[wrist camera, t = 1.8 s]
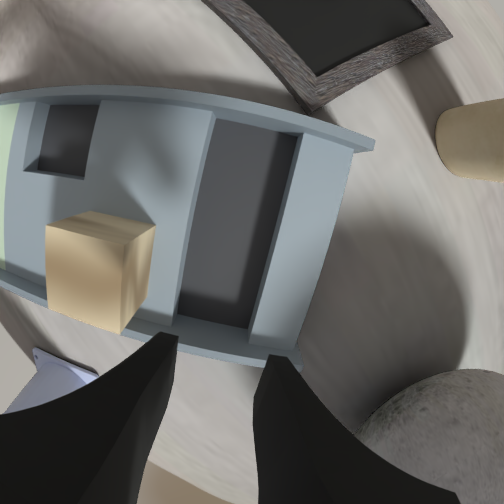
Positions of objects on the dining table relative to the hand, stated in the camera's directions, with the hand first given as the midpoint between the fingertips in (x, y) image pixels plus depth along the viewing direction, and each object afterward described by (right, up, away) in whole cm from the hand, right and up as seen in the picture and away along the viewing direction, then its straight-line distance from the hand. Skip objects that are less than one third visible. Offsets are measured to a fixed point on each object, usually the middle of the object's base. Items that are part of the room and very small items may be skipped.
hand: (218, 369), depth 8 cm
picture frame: (+5, +25, +4) cm, 26 cm away
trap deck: (-9, +7, +8) cm, 14 cm away
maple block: (-7, +4, +7) cm, 11 cm away
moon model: (+17, -13, +14) cm, 26 cm away
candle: (+17, +12, +7) cm, 22 cm away
